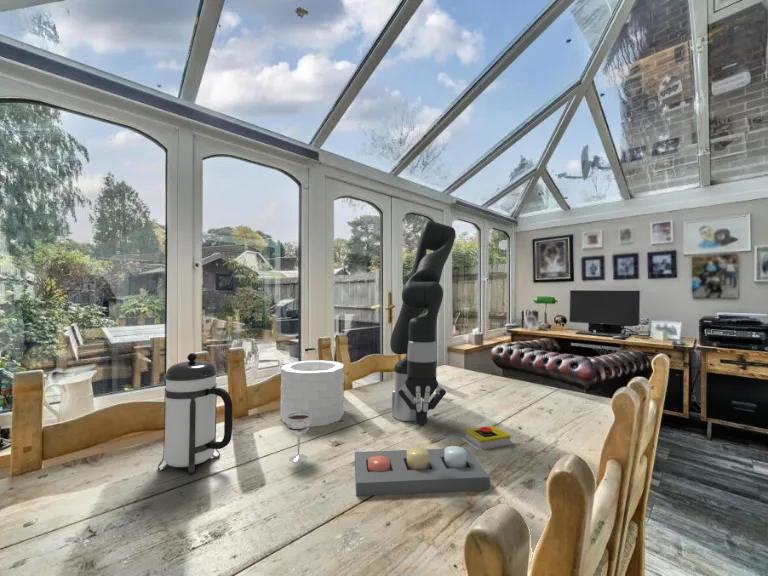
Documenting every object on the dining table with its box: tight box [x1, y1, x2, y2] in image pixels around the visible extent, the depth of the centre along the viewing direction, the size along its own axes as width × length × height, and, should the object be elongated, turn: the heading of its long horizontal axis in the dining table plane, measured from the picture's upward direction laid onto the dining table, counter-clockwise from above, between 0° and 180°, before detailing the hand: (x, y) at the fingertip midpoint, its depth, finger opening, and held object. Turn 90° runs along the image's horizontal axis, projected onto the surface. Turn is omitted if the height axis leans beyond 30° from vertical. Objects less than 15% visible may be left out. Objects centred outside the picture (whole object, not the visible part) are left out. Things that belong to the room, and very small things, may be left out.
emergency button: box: [461, 425, 517, 451], centre depth 113 cm, size 9×4×15 cm
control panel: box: [354, 447, 490, 497], centre depth 91 cm, size 32×16×3 cm, turn 96°
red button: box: [367, 456, 390, 472], centre depth 90 cm, size 6×6×4 cm
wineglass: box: [286, 412, 311, 463], centre depth 100 cm, size 7×7×12 cm
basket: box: [280, 359, 345, 428], centre depth 135 cm, size 25×24×19 cm
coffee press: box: [157, 353, 234, 476], centre depth 96 cm, size 17×16×30 cm
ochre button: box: [406, 446, 429, 470], centre depth 91 cm, size 6×6×4 cm
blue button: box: [444, 445, 466, 469], centre depth 92 cm, size 6×6×4 cm
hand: (421, 425), depth 92 cm, fingers closed
